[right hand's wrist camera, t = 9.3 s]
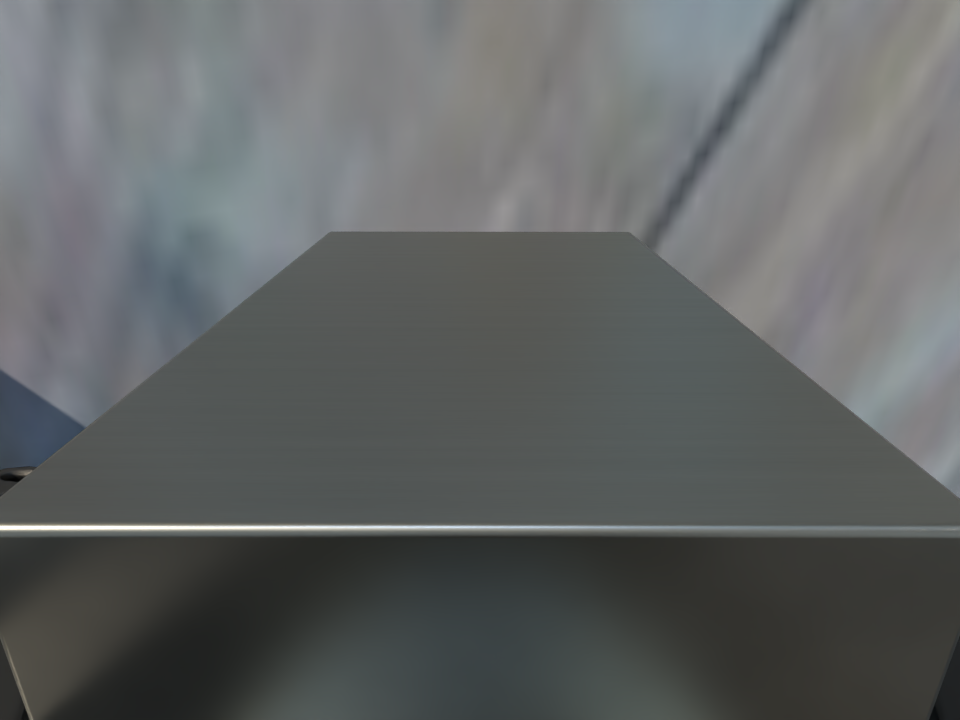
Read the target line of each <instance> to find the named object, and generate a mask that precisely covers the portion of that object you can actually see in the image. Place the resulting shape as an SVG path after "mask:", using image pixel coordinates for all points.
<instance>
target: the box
mask: <svg viewBox="0 0 960 720" xmlns="http://www.w3.org/2000/svg"><path fill="white" fill-rule="evenodd" d="M959 636H960V499H959V498H958V497H957V496H956V495H954V494H953V493H952V492H951V491H950V490H948V489H947V488H946V487H945V486H943V485H942V484H941V483H940V482H938V481H937V480H936V479H935V478H933V477H932V476H931V475H930V474H928V473H927V472H926V471H925V470H924V469H922V468H921V467H920V466H919V465H917V464H916V463H915V462H914V461H912V460H911V459H910V458H909V457H907V456H906V455H905V454H904V453H902V452H901V451H900V450H899V449H897V448H896V447H895V446H894V445H893V444H891V443H890V442H889V441H888V440H886V439H885V438H884V437H883V436H881V435H880V434H879V433H878V432H876V431H875V430H874V429H873V428H871V427H870V426H869V425H868V424H866V423H865V422H864V421H863V420H862V419H860V418H859V417H858V416H857V415H855V414H854V413H853V412H852V411H850V410H849V409H848V408H847V407H845V406H844V405H843V404H842V403H840V402H839V401H838V400H837V399H835V398H834V397H833V396H832V395H831V394H829V393H828V392H827V391H826V390H824V389H823V388H822V387H821V386H819V385H818V384H817V383H816V382H814V381H813V380H812V379H811V378H809V377H808V376H807V375H806V374H805V373H803V372H802V371H801V370H800V369H798V368H797V367H796V366H795V365H793V364H792V363H791V362H790V361H788V360H787V359H786V358H785V357H783V356H782V355H781V354H780V353H778V352H777V351H776V350H775V349H774V348H772V347H771V346H770V345H769V344H767V343H766V342H765V341H764V340H762V339H761V338H760V337H759V336H757V335H756V334H755V333H754V332H752V331H751V330H750V329H749V328H747V327H746V326H745V325H744V324H743V323H741V322H740V321H739V320H738V319H736V318H735V317H734V316H733V315H731V314H730V313H729V312H728V311H726V310H725V309H724V308H723V307H721V306H720V305H719V304H718V303H716V302H715V301H714V300H713V299H712V298H710V297H709V296H708V295H707V294H705V293H704V292H703V291H702V290H700V289H699V288H698V287H697V286H695V285H694V284H693V283H692V282H690V281H689V280H688V279H687V278H686V277H684V276H683V275H682V274H681V273H679V272H678V271H677V270H676V269H674V268H673V267H672V266H671V265H669V264H668V263H667V262H666V261H664V260H663V259H662V258H661V257H659V256H658V255H657V254H656V253H655V252H653V251H652V250H651V249H650V248H648V247H647V246H646V245H645V244H643V243H642V242H641V241H640V240H638V239H637V238H636V237H635V236H633V235H632V234H631V233H629V232H330V233H328V234H327V235H326V236H324V237H323V238H322V239H321V240H319V241H318V242H317V243H316V244H314V245H313V246H312V247H311V248H309V249H308V250H307V251H306V252H304V253H303V254H302V255H301V256H299V257H298V258H297V259H296V260H294V261H293V262H292V263H291V264H289V265H288V266H287V267H286V268H284V269H283V270H282V271H281V272H279V273H278V274H277V275H276V276H274V277H273V278H272V279H271V280H270V281H268V282H267V283H266V284H265V285H263V286H262V287H261V288H260V289H258V290H257V291H256V292H255V293H253V294H252V295H251V296H250V297H248V298H247V299H246V300H245V301H243V302H242V303H241V304H240V305H238V306H237V307H236V308H235V309H233V310H232V311H231V312H230V313H228V314H227V315H226V316H225V317H223V318H222V319H221V320H220V321H218V322H217V323H216V324H215V325H214V326H212V327H211V328H210V329H209V330H207V331H206V332H205V333H204V334H202V335H201V336H200V337H199V338H197V339H196V340H195V341H194V342H192V343H191V344H190V345H189V346H187V347H186V348H185V349H184V350H182V351H181V352H180V353H179V354H177V355H176V356H175V357H174V358H172V359H171V360H170V361H169V362H167V363H166V364H165V365H164V366H162V367H161V368H160V369H159V370H158V371H156V372H155V373H154V374H153V375H151V376H150V377H149V378H148V379H146V380H145V381H144V382H143V383H141V384H140V385H139V386H138V387H136V388H135V389H134V390H133V391H131V392H130V393H129V394H128V395H126V396H125V397H124V398H123V399H121V400H120V401H119V402H118V403H116V404H115V405H114V406H113V407H111V408H110V409H109V410H108V411H106V412H105V413H104V414H103V415H102V416H100V417H99V418H98V419H97V420H95V421H94V422H93V423H92V424H90V425H89V426H88V427H87V428H85V429H84V430H83V431H82V432H80V433H79V434H78V435H77V436H75V437H74V438H73V439H72V440H70V441H69V442H68V443H67V444H65V445H64V446H63V447H62V448H60V449H59V450H58V451H57V452H55V453H54V454H53V455H52V456H50V457H49V458H48V459H47V460H46V461H44V462H43V463H42V464H41V465H39V466H38V467H37V468H36V469H34V470H33V471H32V472H31V473H29V474H28V475H27V476H26V477H24V478H23V479H22V480H21V481H19V482H18V483H17V484H16V485H14V486H13V487H12V488H11V489H9V490H8V491H7V492H6V493H4V494H3V495H2V496H1V497H0V639H1V642H2V645H3V648H4V650H5V653H6V656H7V659H8V662H9V664H10V667H11V670H12V673H13V675H14V678H15V681H16V684H17V686H18V689H19V692H20V695H21V697H22V700H23V703H24V706H25V708H26V711H27V714H28V717H29V720H929V718H930V716H931V713H932V710H933V707H934V705H935V702H936V699H937V696H938V694H939V691H940V688H941V685H942V683H943V680H944V677H945V674H946V672H947V669H948V666H949V663H950V661H951V658H952V655H953V652H954V650H955V647H956V644H957V642H958V639H959Z"/></svg>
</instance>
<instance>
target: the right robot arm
mask: <svg viewBox="0 0 960 720" xmlns="http://www.w3.org/2000/svg"><path fill="white" fill-rule="evenodd" d="M36 468H37V467H30V466H29V467H17V468H6V469H2V470H0V497H1V496H2V495H3V494H4V493H6V492H7V491H8V490H9V489H11V488H12V487H13V486H14V485H16V484H17V483H18V482H19V481H21V480H22V479H23V478H24V477H26V476H27V475H28V474H29V473H31V472H32V471H33V470H34V469H36ZM0 720H29V717H28V714H27V711H26V708H25V706H24V703H23V700H22V697H21V695H20V692H19V689H18V686H17V684H16V681H15V678H14V675H13V673H12V670H11V667H10V664H9V662H8V659H7V656H6V653H5V650H4V648H3V645H2V642H1V639H0ZM929 720H960V636H959V639H958V642H957V644H956V647H955V650H954V652H953V655H952V658H951V661H950V663H949V666H948V669H947V672H946V674H945V677H944V680H943V683H942V685H941V688H940V691H939V694H938V696H937V699H936V702H935V705H934V707H933V710H932V713H931V716H930V718H929Z"/></svg>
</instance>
